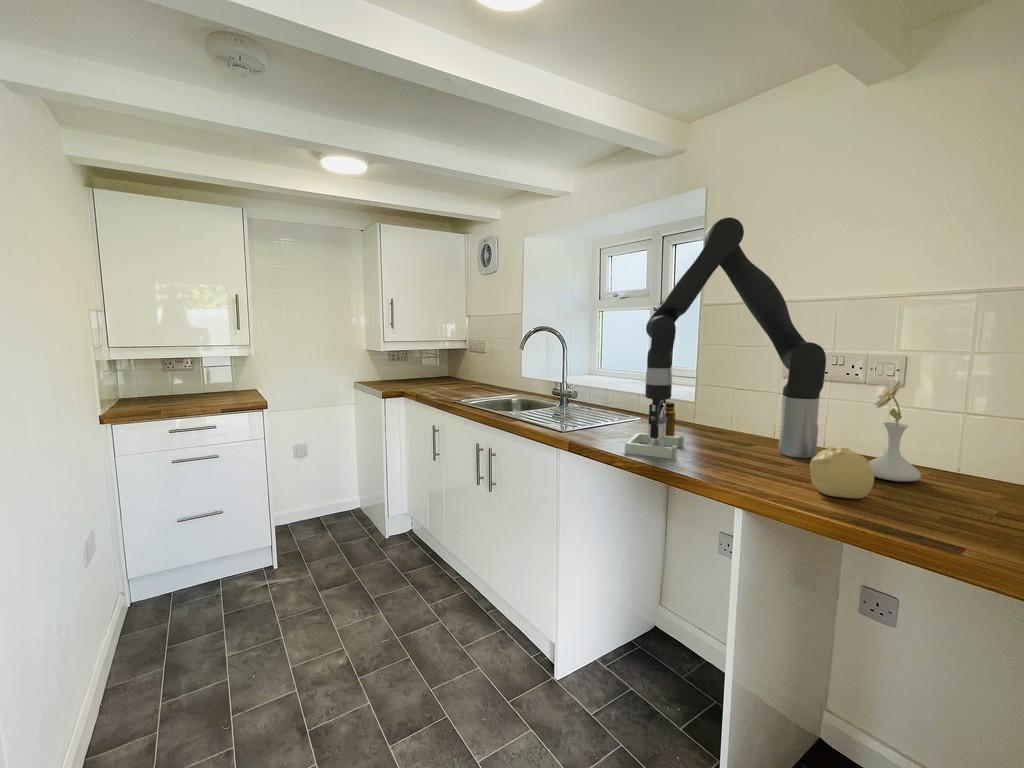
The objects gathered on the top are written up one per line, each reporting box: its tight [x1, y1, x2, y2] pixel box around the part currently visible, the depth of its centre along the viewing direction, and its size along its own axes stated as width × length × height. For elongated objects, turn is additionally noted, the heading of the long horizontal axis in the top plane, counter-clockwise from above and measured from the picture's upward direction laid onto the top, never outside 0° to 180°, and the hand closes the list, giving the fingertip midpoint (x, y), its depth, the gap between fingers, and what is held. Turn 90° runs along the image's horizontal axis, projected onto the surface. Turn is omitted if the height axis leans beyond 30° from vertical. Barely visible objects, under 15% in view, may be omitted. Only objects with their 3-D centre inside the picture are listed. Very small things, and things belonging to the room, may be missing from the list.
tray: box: [624, 432, 685, 460], centre depth 145 cm, size 15×16×4 cm
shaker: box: [646, 415, 666, 447], centre depth 145 cm, size 5×5×10 cm
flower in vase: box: [868, 379, 922, 483], centre depth 116 cm, size 13×11×25 cm
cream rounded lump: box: [809, 446, 875, 499], centre depth 106 cm, size 12×12×11 cm
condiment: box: [665, 401, 679, 437], centre depth 162 cm, size 7×8×12 cm
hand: (656, 435), depth 145 cm, fingers open, 8 cm apart
